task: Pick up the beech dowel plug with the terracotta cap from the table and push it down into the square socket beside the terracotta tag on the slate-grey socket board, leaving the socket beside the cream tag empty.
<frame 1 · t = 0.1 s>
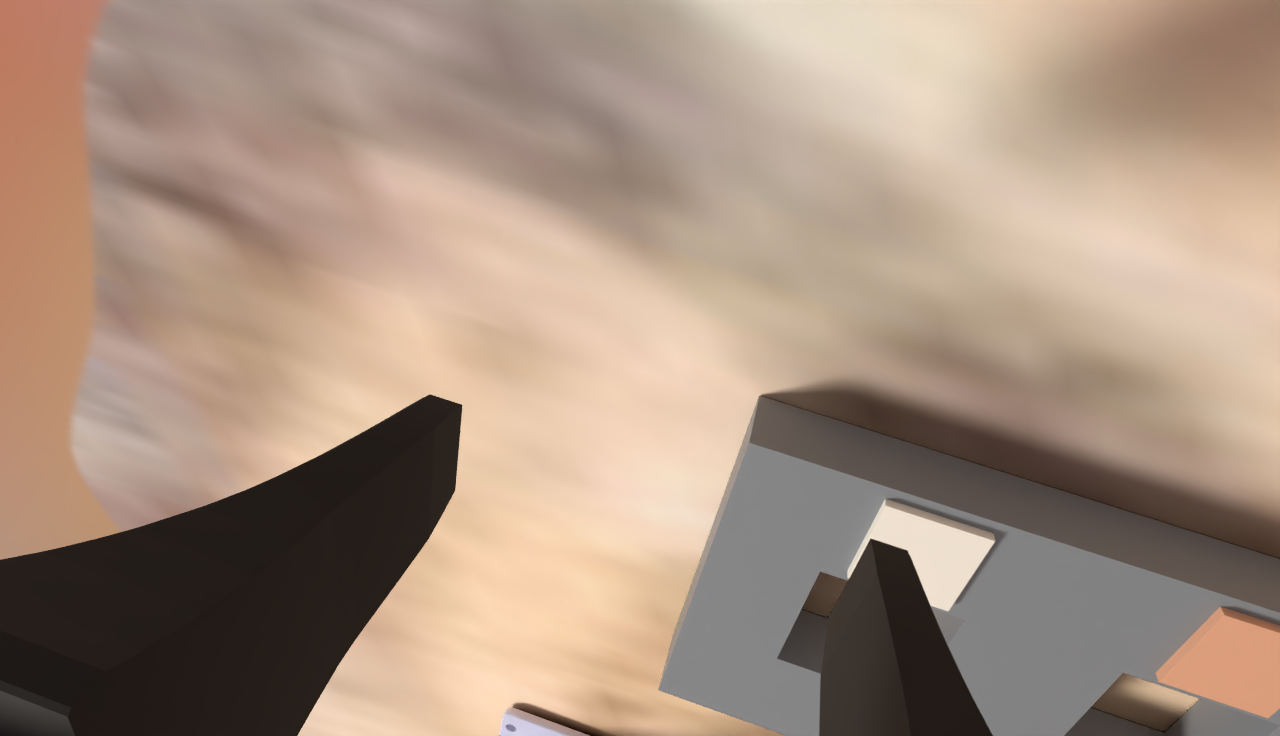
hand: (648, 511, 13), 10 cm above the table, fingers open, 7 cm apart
socket board: (998, 627, 26), on the table
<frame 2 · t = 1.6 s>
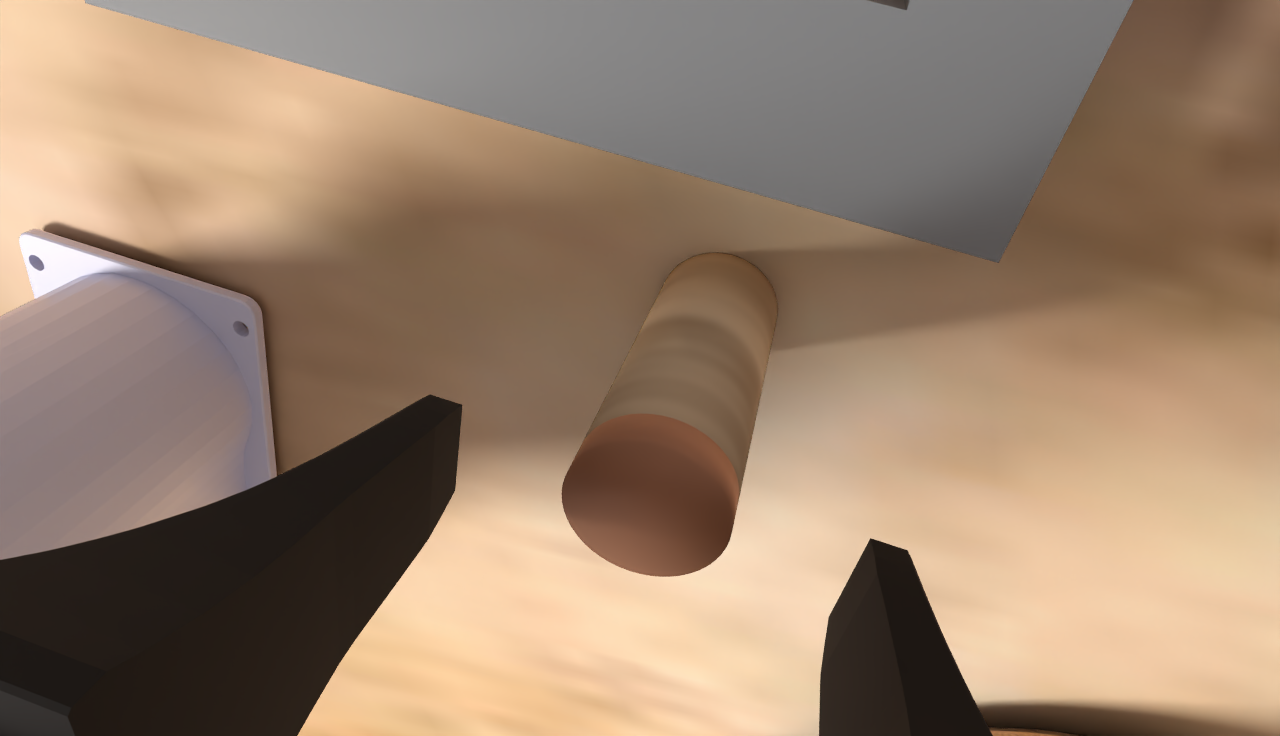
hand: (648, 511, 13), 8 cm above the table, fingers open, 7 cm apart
plug: (717, 307, 20), on the table
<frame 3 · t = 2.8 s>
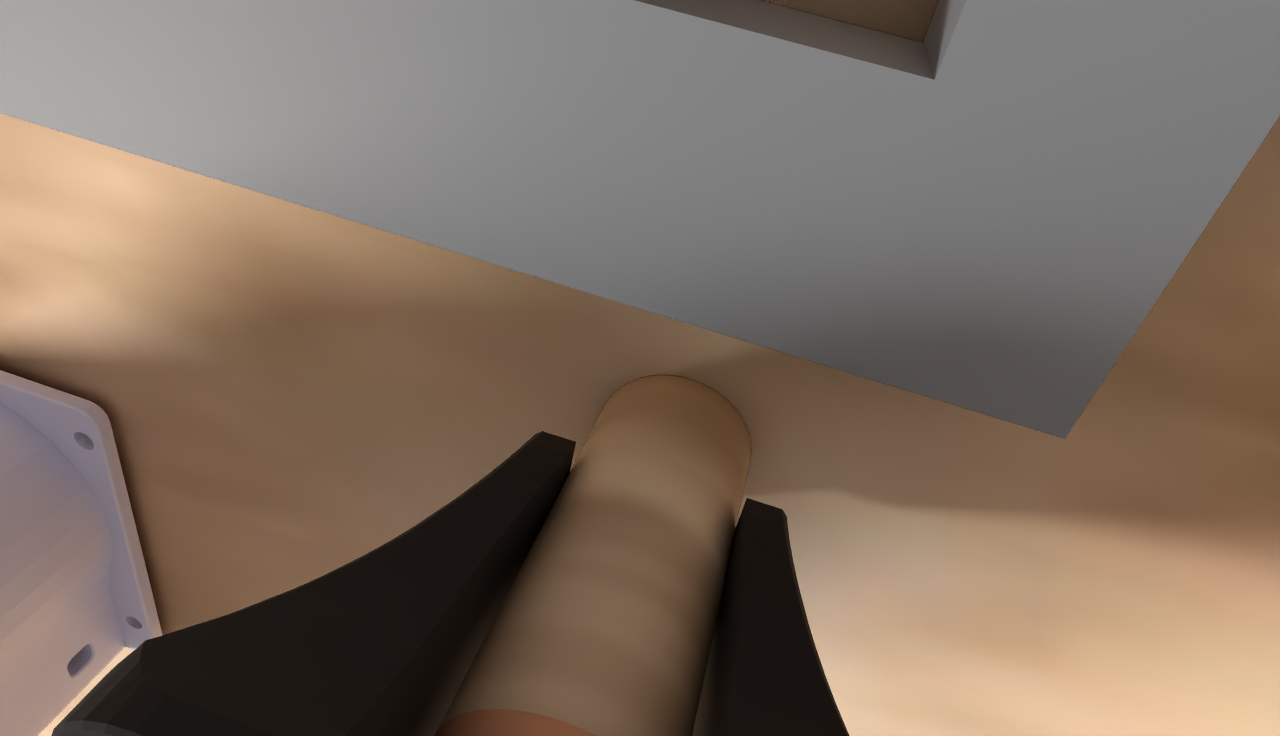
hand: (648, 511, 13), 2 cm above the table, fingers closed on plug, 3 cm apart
plug: (673, 441, 15), on the table, touching gripper
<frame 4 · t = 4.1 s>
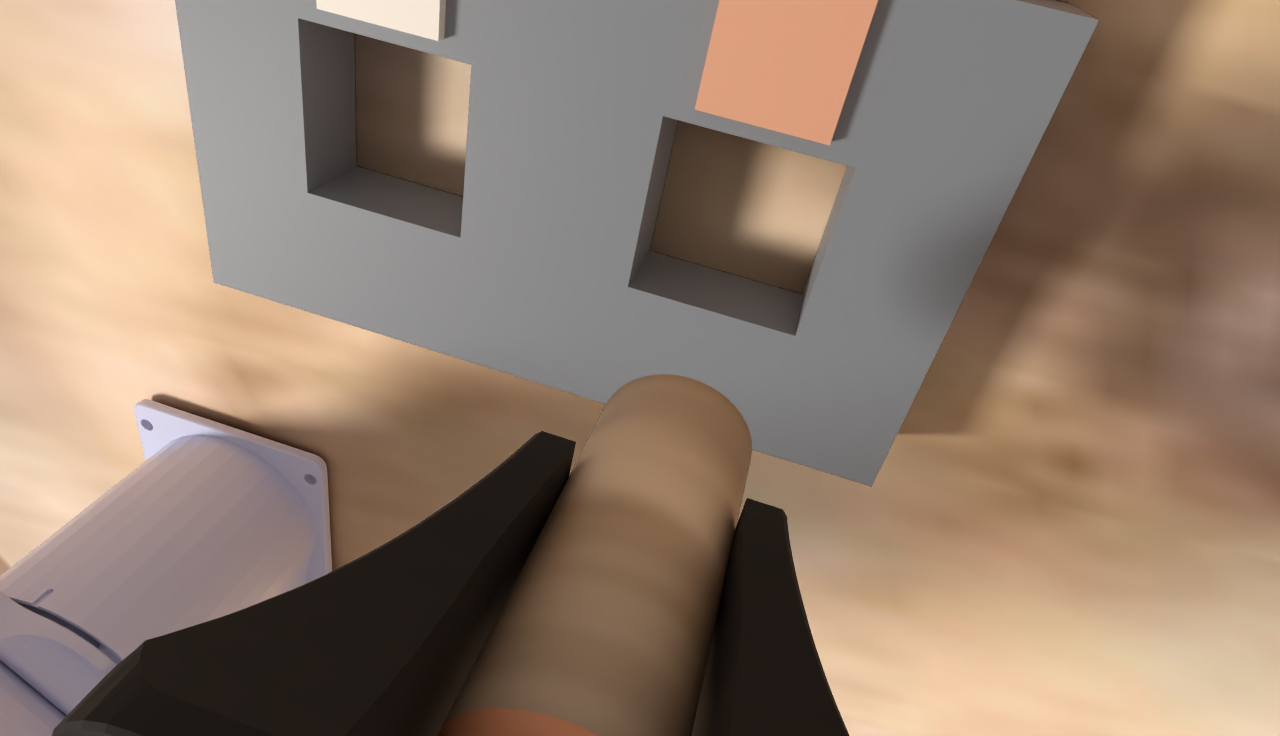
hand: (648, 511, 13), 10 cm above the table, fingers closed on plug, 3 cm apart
plug: (674, 439, 15), point 8 cm above the table, touching gripper
socket board: (583, 153, 21), on the table
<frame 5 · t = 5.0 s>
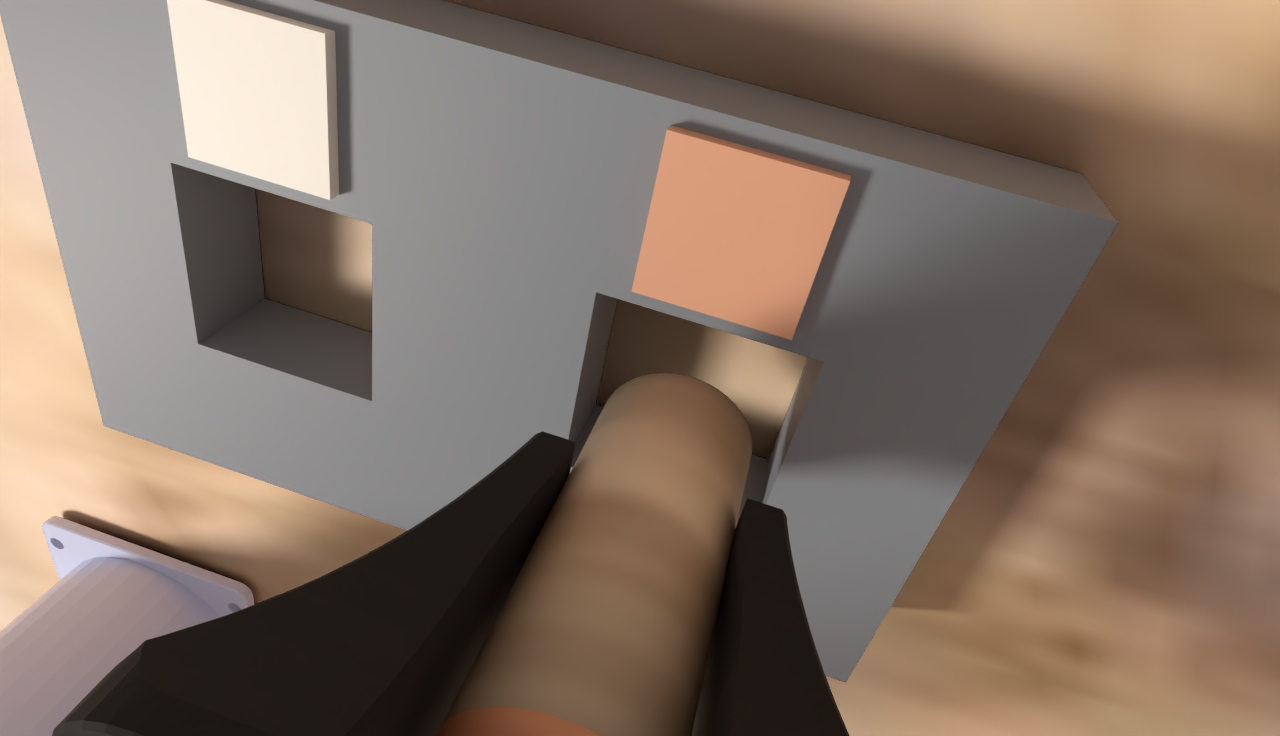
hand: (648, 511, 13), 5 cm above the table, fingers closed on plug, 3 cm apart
plug: (674, 438, 15), point 3 cm above the table, touching gripper
socket board: (517, 300, 18), on the table
when the fingers open (3 cm above the table, at t = 5.6 s): plug drops 1 cm, resting in socket board.
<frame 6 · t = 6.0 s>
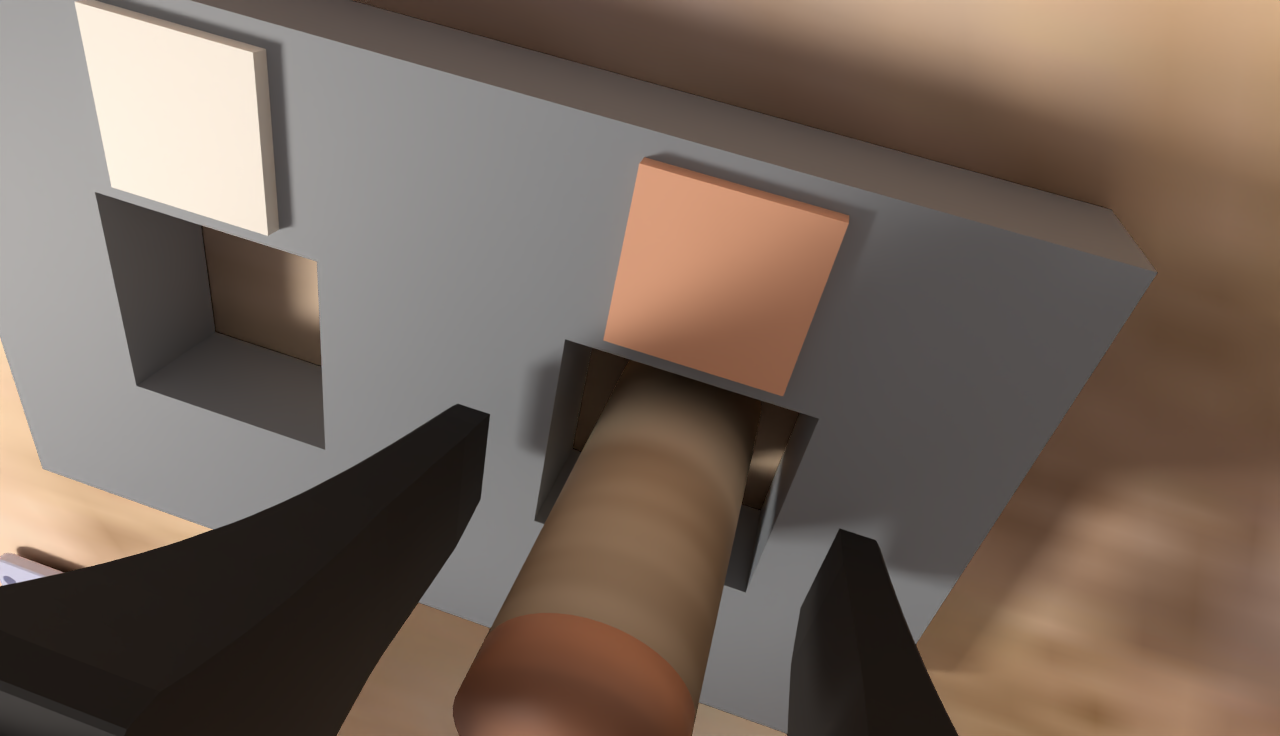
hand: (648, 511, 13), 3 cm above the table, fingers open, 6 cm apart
plug: (688, 402, 16), resting in socket board
socket board: (485, 338, 16), on the table
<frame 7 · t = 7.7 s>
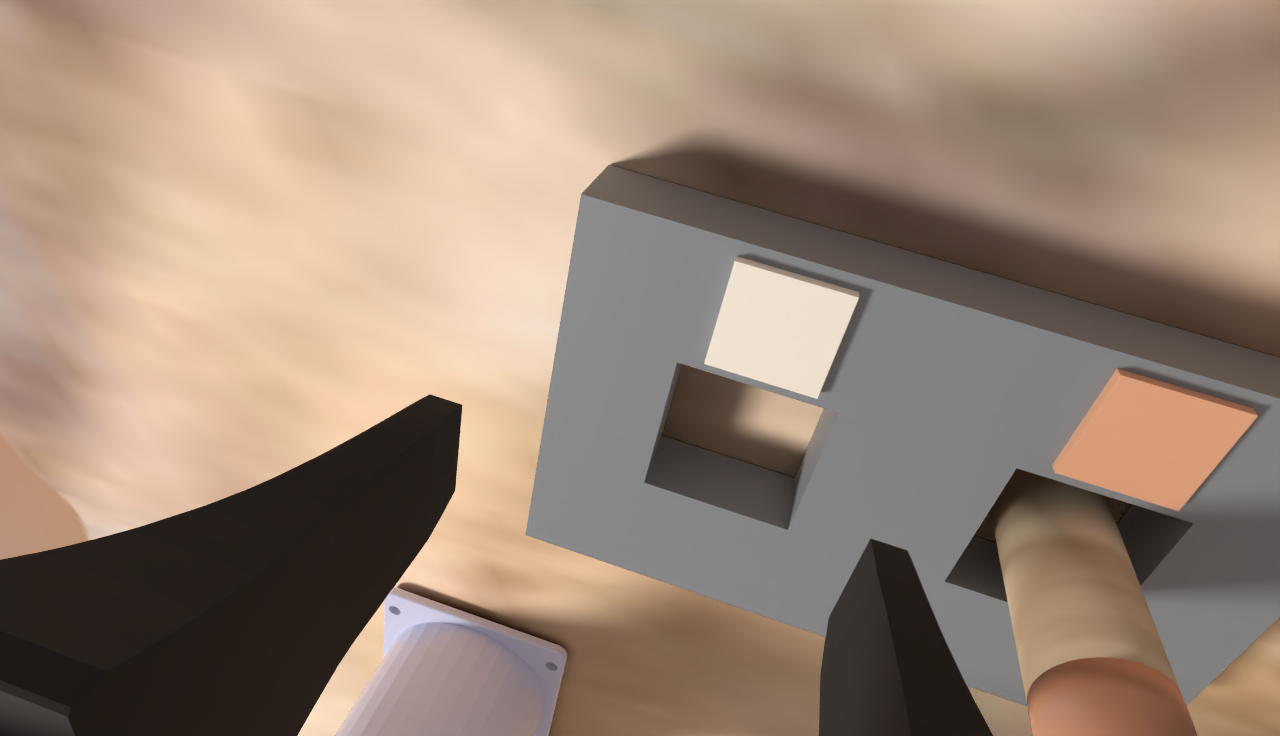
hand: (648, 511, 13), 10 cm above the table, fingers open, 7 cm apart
plug: (1044, 495, 23), resting in socket board
socket board: (892, 448, 23), on the table
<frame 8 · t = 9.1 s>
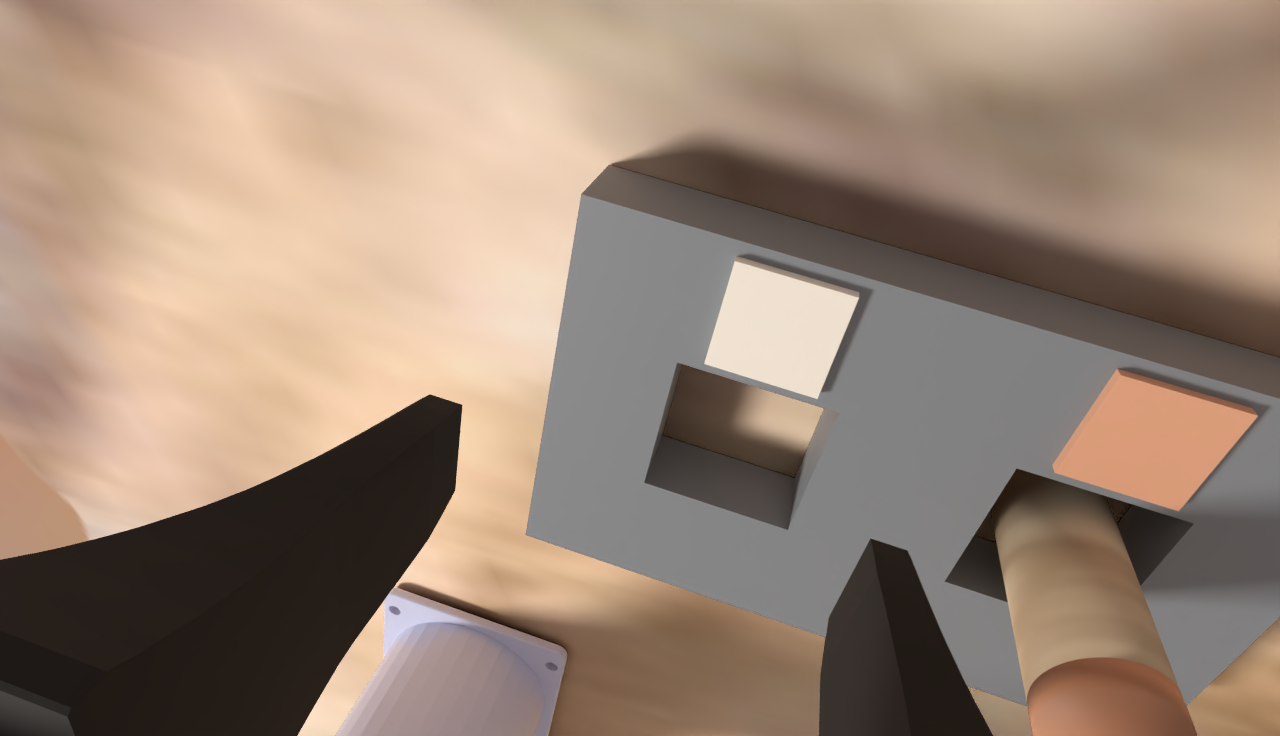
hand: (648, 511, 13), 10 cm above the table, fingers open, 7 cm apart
plug: (1044, 495, 23), resting in socket board
socket board: (892, 448, 23), on the table
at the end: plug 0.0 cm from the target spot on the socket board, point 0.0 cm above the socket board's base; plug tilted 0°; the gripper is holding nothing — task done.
